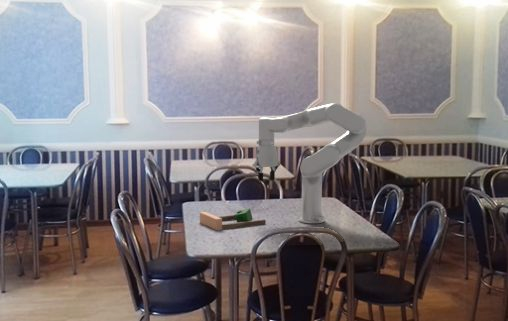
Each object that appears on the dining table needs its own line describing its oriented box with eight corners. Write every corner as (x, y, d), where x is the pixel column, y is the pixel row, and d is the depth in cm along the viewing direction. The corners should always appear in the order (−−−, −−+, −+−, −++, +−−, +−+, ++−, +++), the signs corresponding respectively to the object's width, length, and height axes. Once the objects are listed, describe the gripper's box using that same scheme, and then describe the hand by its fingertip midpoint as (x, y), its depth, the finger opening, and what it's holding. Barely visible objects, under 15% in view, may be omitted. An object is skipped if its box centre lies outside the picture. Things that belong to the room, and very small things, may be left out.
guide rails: (265, 224, 288) (265, 219, 288) (222, 229, 277) (222, 225, 277) (247, 217, 304) (247, 213, 303) (206, 221, 293) (206, 217, 292)
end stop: (222, 229, 277) (222, 218, 276) (216, 230, 275) (216, 219, 275) (205, 222, 293) (205, 211, 292) (199, 222, 291) (199, 212, 291)
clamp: (242, 229, 296) (239, 211, 299) (253, 226, 295) (250, 209, 298) (235, 225, 285) (232, 206, 288) (247, 222, 284) (244, 203, 287)
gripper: (254, 144, 287) (254, 182, 289) (285, 142, 295) (285, 180, 297) (247, 143, 293) (247, 180, 295) (277, 141, 302) (277, 178, 304)
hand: (266, 179), depth 296 cm, fingers open, 5 cm apart
